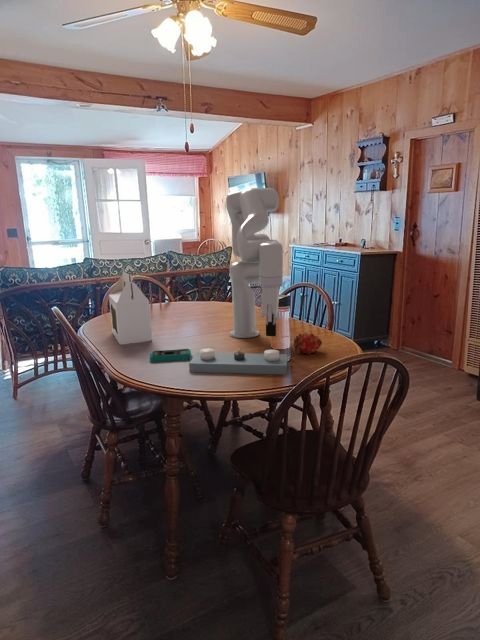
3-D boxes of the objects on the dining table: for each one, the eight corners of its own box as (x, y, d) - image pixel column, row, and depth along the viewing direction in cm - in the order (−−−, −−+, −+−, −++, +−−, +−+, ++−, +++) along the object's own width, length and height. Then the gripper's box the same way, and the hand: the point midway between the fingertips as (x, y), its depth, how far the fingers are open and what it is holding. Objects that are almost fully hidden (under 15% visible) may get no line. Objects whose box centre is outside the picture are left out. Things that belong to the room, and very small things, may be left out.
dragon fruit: (290, 358, 167) (318, 359, 171) (300, 350, 160) (330, 351, 164) (286, 337, 170) (314, 338, 175) (296, 328, 163) (325, 329, 167)
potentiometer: (234, 356, 156) (234, 347, 155) (245, 357, 155) (245, 347, 154) (233, 360, 152) (233, 350, 151) (243, 360, 152) (243, 350, 151)
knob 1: (202, 363, 159) (201, 348, 157) (216, 363, 158) (215, 348, 157) (199, 368, 154) (198, 352, 152) (213, 368, 153) (213, 352, 152)
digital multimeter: (150, 357, 169) (150, 350, 168) (190, 355, 170) (190, 347, 170) (149, 363, 162) (148, 356, 161) (191, 361, 163) (190, 353, 163)
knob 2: (265, 364, 155) (264, 349, 154) (279, 365, 155) (279, 349, 153) (263, 369, 151) (263, 353, 149) (278, 370, 150) (278, 354, 149)
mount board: (197, 360, 162) (197, 352, 162) (287, 362, 158) (287, 354, 157) (189, 371, 151) (189, 363, 150) (285, 374, 146) (285, 365, 145)
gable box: (152, 341, 189) (147, 274, 183) (120, 345, 184) (113, 277, 178) (141, 329, 209) (136, 268, 203) (112, 333, 204) (106, 271, 198)
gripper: (261, 277, 154) (261, 329, 158) (256, 285, 139) (257, 342, 144) (283, 277, 153) (283, 329, 157) (281, 285, 138) (280, 342, 143)
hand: (270, 335), depth 151 cm, fingers closed
